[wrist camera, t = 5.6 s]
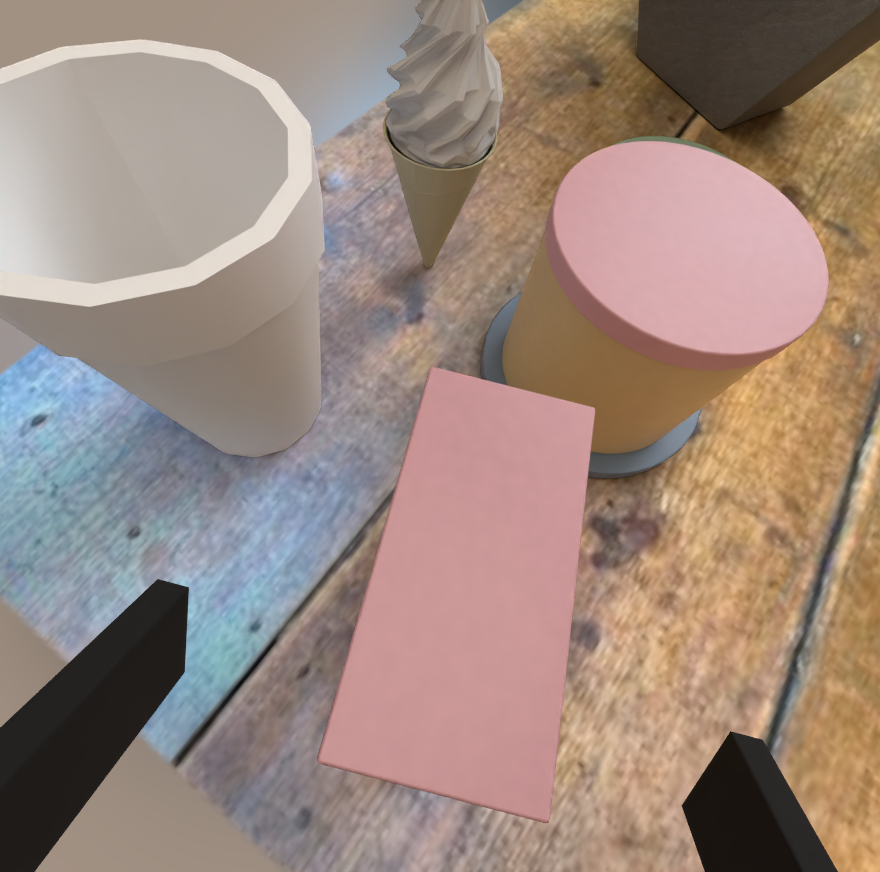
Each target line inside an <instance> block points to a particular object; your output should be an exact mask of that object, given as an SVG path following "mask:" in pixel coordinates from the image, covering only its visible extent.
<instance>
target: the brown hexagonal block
mask: <svg viewBox="0 0 880 872" xmlns="http://www.w3.org/2000/svg"><path fill="white" fill-rule="evenodd" d="M879 40H880V0H639V13H638V39H637V56H638V57H639V58H640V59H641V60H642V61H643V62H644V63H645V64H646V65H647V66H648V67H650V68H651V69H652V70H653V71H654V72H655V73H656V74H657V75H658V76H659V77H661V78H662V79H663V80H664V81H665V82H666V83H667V84H668V85H669V86H671V87H672V88H673V89H674V90H675V91H676V92H677V93H678V94H679V95H680V96H682V97H683V98H684V99H685V100H686V101H687V102H688V103H689V104H690V105H692V106H693V107H694V108H695V109H696V110H697V111H698V112H699V113H700V114H702V115H703V116H704V117H705V118H706V119H707V120H708V121H709V122H711V123H712V124H713V125H714V126H715V127H716V128H718V129H724V128H727V127H730V126H733V125H735V124H738V123H741V122H744V121H747V120H749V119H752V118H755V117H758V116H760V115H763V114H766V113H769V112H772V111H774V110H777V109H780V108H783V107H785V106H788V105H790V104H792V103H793V102H794V101H796V100H797V99H799V98H800V97H801V96H803V95H804V94H806V93H807V92H808V91H810V90H811V89H813V88H814V87H815V86H817V85H818V84H820V83H821V82H822V81H824V80H825V79H826V78H828V77H829V76H831V75H832V74H833V73H835V72H836V71H837V70H839V69H840V68H842V67H843V66H844V65H846V64H847V63H849V62H850V61H851V60H853V59H854V58H855V57H857V56H858V55H860V54H861V53H862V52H864V51H865V50H866V49H868V48H869V47H871V46H872V45H873V44H875V43H876V42H878V41H879Z"/></svg>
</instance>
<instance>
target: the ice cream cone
mask: <svg viewBox="0 0 880 872" xmlns="http://www.w3.org/2000/svg"><path fill="white" fill-rule="evenodd" d="M415 10H416V12H417V13H418V15H419V17H420V18H421V21H420V23H419V25H418V27H417V29H416V30H415V32H414V33H413V35H412V36H411V37H410V38H409V39H408V40H406V41H405V42H404V43H403V44H402V45H400V47H401V48H402V49H404V50H405V51H406V54H407V56H406V58H405V59H403V60H401V61H399V62H398V63H396V64H394V65H392V66H390V67H388V68H387V72H388V73H389V74H390V75H391V76H392V77H393V78H394V79H396V80H397V81H398V82H399V83H400V87H399V90H398V91H396V92H394V93H392V94H390V95H389V96H388V97H387V98H386V103H387V107H389V108H391V109H390V111H389V112H388V113H387V115H386V117H385V119H384V124H383V131H384V135H385V138H386V141H387V143H388V144H389V146H390V147H391V151H392V154H393V158H394V161H395V165H396V168H397V171H398V175H399V178H400V182H401V185H402V190H403V193H404V197H405V200H406V204H407V207H408V211H409V214H410V218H411V221H412V225H413V228H414V232H415V235H416V238H417V242H418V245H419V249H420V252H421V256H422V259H423V263H424V266H425V267H427V268H430V267H432V265H433V263H434V261H435V259H436V257H437V255H438V253H439V251H440V249H441V247H442V245H443V243H444V242H445V240H446V238H447V236H448V234H449V232H450V230H451V228H452V226H453V224H454V222H455V220H456V218H457V216H458V214H459V212H460V210H461V208H462V206H463V205H464V203H465V201H466V199H467V197H468V195H469V193H470V191H471V189H472V187H473V185H474V183H475V181H476V179H477V177H478V175H479V173H480V171H481V169H482V167H483V165H484V163H485V161H486V159H487V158H488V157H489V156H490V155H491V154H492V152H493V151H494V149H495V147H496V143H497V130H498V126H499V110H500V108H501V105H502V103H503V91H502V81H501V71H500V65H499V64H498V62H497V61H496V59H495V58H494V56H493V55H492V53H491V52H490V50H489V49H488V47H487V46H486V42H485V31H486V28H487V25H488V23H489V21H488V18H487V15H486V11H485V8H484V5H483V2H482V0H419V2H418V3H417V5H416V6H415Z"/></svg>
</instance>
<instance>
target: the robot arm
mask: <svg viewBox="0 0 880 872" xmlns="http://www.w3.org/2000/svg"><path fill="white" fill-rule="evenodd" d="M188 593H189V587H185V586H182V585H178V584H174V583H170V582H166V581H163V580H159V579H157V580H156V581H155V582H154V583H153V584H152V585H151V586H150V587H149V588H148V589H147V590H146V591H145V592H144V593H143V594H142V595H140V596H139V597H138V598H137V599H136V600H135V601H134V602H133V603H132V604H131V605H130V606H129V607H128V608H127V609H126V610H125V611H124V612H122V613H121V614H120V615H119V616H118V617H117V618H116V619H115V620H114V621H113V622H112V623H111V624H110V625H109V626H108V627H107V628H106V629H104V630H103V631H102V632H101V633H100V634H99V635H98V636H97V637H96V638H95V639H94V640H93V641H92V642H91V643H90V644H89V645H88V646H86V647H85V648H84V649H83V650H82V651H81V652H80V653H79V654H78V655H77V656H76V657H75V658H74V659H73V660H72V661H71V662H70V663H68V664H67V665H66V666H65V667H64V668H63V669H62V670H61V671H60V672H59V673H58V674H57V675H56V676H55V677H54V678H53V679H52V680H51V681H49V682H48V683H47V684H46V685H45V686H44V687H43V688H42V689H41V690H40V691H39V692H38V693H37V694H36V695H35V696H34V697H32V698H31V699H30V700H29V701H28V702H27V703H26V704H25V705H24V706H23V707H22V708H21V709H20V710H19V711H18V712H17V713H15V714H14V715H13V716H12V717H11V718H10V719H9V720H8V721H7V722H6V723H5V724H4V725H3V726H2V727H1V728H0V872H35V870H36V869H37V868H38V866H39V865H40V864H41V862H42V861H43V860H44V858H45V857H46V856H47V854H48V853H49V852H50V850H51V849H52V848H53V846H54V845H55V844H56V842H57V841H58V840H59V838H60V837H61V836H62V834H63V833H64V832H65V830H66V829H67V828H68V827H69V825H70V824H71V822H72V821H73V820H74V818H75V817H76V816H77V815H78V813H79V812H80V811H81V809H82V808H83V807H84V805H85V804H86V802H87V801H88V800H89V799H90V797H91V796H92V794H93V793H94V792H95V791H96V789H97V788H98V786H99V785H100V784H101V783H102V781H103V780H104V779H105V777H106V775H108V773H109V772H110V771H111V769H112V768H113V767H114V765H115V764H116V763H117V761H118V760H119V759H120V757H121V756H122V755H123V753H124V752H125V751H126V749H127V748H128V747H129V745H130V744H131V743H132V741H133V740H134V739H135V737H136V736H137V735H138V733H139V732H140V731H141V729H142V728H143V727H144V725H145V724H146V723H147V721H148V720H149V719H150V718H151V716H152V715H153V714H154V712H155V711H156V710H157V708H158V707H159V706H160V704H161V703H162V702H163V700H164V699H165V698H166V696H167V695H168V694H169V692H170V691H171V690H172V688H173V687H174V686H175V684H176V683H177V682H178V680H179V679H180V678H181V676H182V675H183V674H184V672H185V654H186V634H187V613H188ZM682 808H683V811H684V814H685V816H686V819H687V822H688V825H689V828H690V831H691V833H692V836H693V839H694V842H695V845H696V848H697V851H698V853H699V856H700V859H701V862H702V865H703V868H704V870H705V872H838V871H837V869H836V868H835V866H834V864H833V862H832V861H831V859H830V857H829V855H828V854H827V852H826V850H825V848H824V847H823V845H822V843H821V841H820V840H819V838H818V836H817V834H816V833H815V831H814V829H813V827H812V826H811V824H810V822H809V820H808V819H807V817H806V815H805V813H804V812H803V810H802V808H801V806H800V804H799V803H798V801H797V799H796V797H795V796H794V794H793V792H792V790H791V789H790V787H789V785H788V783H787V782H786V780H785V778H784V776H783V775H782V773H781V771H780V769H779V768H778V766H777V764H776V762H775V761H774V759H773V757H772V755H771V754H770V752H769V750H768V748H767V747H766V745H765V743H764V741H763V740H761V739H757V738H753V737H750V736H746V735H742V734H738V733H735V732H731V731H730V733H729V735H728V736H727V738H726V739H725V741H724V742H723V744H722V745H721V747H720V748H719V750H718V751H717V753H716V754H715V756H714V757H713V759H712V760H711V762H710V763H709V765H708V767H707V768H706V770H705V771H704V773H703V774H702V776H701V777H700V779H699V780H698V782H697V783H696V785H695V786H694V788H693V789H692V791H691V792H690V794H689V795H688V797H687V799H686V800H685V802H684V803H683V805H682Z"/></svg>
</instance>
